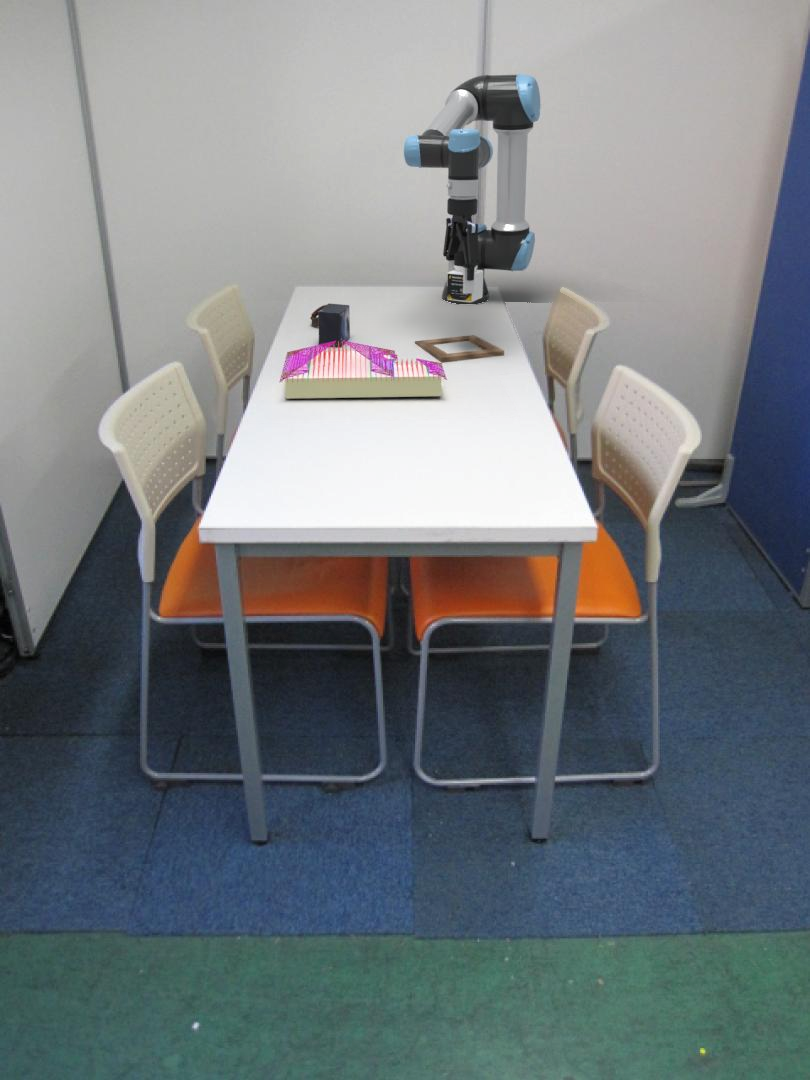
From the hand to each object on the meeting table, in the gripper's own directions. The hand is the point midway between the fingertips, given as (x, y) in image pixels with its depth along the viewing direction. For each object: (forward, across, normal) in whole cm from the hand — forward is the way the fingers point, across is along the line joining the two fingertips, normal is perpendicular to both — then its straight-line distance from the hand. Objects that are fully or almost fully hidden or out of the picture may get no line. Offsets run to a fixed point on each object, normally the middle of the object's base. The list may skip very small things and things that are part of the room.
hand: (459, 289), depth 228 cm
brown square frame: (+16, 0, 0) cm, 16 cm away
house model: (+17, +16, -33) cm, 40 cm away
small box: (+17, -18, -29) cm, 38 cm away
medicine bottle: (+3, 0, +2) cm, 3 cm away
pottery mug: (+17, -36, -23) cm, 46 cm away
